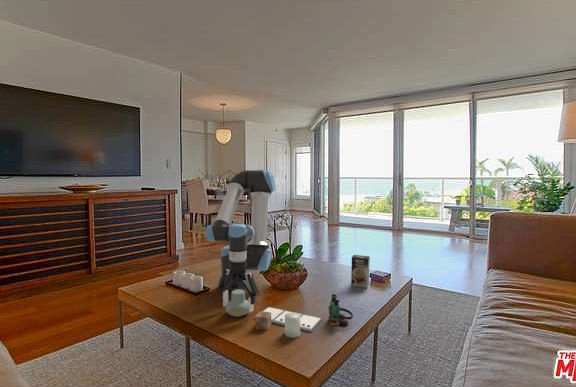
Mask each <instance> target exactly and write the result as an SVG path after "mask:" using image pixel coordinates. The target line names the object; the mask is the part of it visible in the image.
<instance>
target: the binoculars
mask: <svg viewBox="0 0 576 387" xmlns="http://www.w3.org/2000/svg"><path fill="white" fill-rule="evenodd" d="M339 302H340V300H339V299H337V294H333V293H332V294H331V299H330V302H329V306H328V315H329V316H328V317H327V318H328V319H327V320H328V321H330V326H333V327H334V326H336V325H344V326H348V325H349V321H348V320H352V319H353V317H354V316H353V313H352V311H350V310H348V309H346V308H343V307H341V306H340V304H339ZM341 311H343V312H346V313H347V314H349V315H350V316H345V315H344V314H341Z"/></svg>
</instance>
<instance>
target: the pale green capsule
mask: <svg viewBox="0 0 576 387" xmlns="http://www.w3.org/2000/svg"><path fill="white" fill-rule="evenodd" d="M298 313H299V312H296V313H287V314H285V326H284V335H285V336H286V337H288V338H293V339H294V338H298V337H299V336H301V330H300V314H301V313H300V314H298Z"/></svg>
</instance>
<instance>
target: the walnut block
mask: <svg viewBox="0 0 576 387" xmlns="http://www.w3.org/2000/svg"><path fill="white" fill-rule="evenodd" d="M255 316H256V319H255V330H264V331H269V329H270V327H271V326H272V323H271V312H262V311H261V310H260V311H258V313H257V314H256V315H255Z"/></svg>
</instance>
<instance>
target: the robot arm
mask: <svg viewBox="0 0 576 387" xmlns="http://www.w3.org/2000/svg"><path fill="white" fill-rule="evenodd" d="M275 188H276V183H275V176H274V174H273V172H272V171H271V170H265V169H261V170H260V169H259V170H251V169H250V170H248V169H246V170H245V169H244V170H241V171H239V172H238V173H236V174H235V175H234V176H233V177H232V178H231V179H230V180H229V182H228V183H227V185H226V193H225V195H224V198H223V200H222V203H221V206H220V208H219V210H218V212H217V216H216V218H215V220H214V223H213V224H209V225H207V226H206V228H205V232H204V236H205V239H206V240H207V241H209V242H215V243H216V242H223V243H224V242H226V243H228V245H225V246H223V247H222V248H221V251H220V252H221V254H220V267H221V269H220V270H221V274H220V278H219V281H218V285H217V290H218V291H219V292H221V299H222V306H223V307H224V308H226V305H227V303H228V302H229V294H231V292H232V291H233V290H238V289H240V290H244V291H245V290H246V292H247V293H248V295H249V296H248V302H249V312H248V313H253V311H254V310H255V308H254V305H255V303H256V297H257V296H259V295H260V292H259V289H258V287H257V284H256V281H255V279H254V274H253V272H247V271H257V272H259V271H261V272H262V271H267V270H268V269H269V267H270V265H271V262H272V255H273V253H272V252H273V249H271V248H270V247H269V244H268V242H267V232H268V231H267V229H268V215H269V214H268V213H269V198H271V195H272V192H275V190H276V189H275ZM245 192H249V193H250V196H251V197H252V204H251V205H252V206H251V219H250V220H251V221H250V225H249V224H242V223H234V224H231V223H232V222H233V221H232V220H233V218H234V215H235V212H236V209H237V208H238V204H239V202H240V199H241V196H243V195H244V193H245Z"/></svg>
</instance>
